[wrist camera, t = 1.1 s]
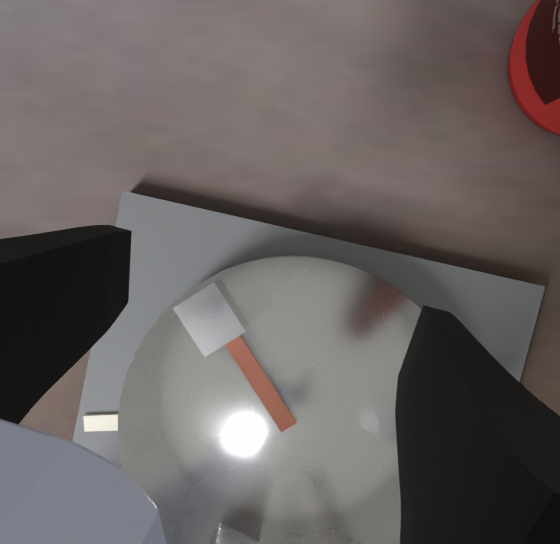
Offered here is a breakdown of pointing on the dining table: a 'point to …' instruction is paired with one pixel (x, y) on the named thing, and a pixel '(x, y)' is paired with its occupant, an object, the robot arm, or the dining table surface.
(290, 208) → the dining table surface
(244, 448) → the round dial
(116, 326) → the slate base plate
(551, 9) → the canned food
